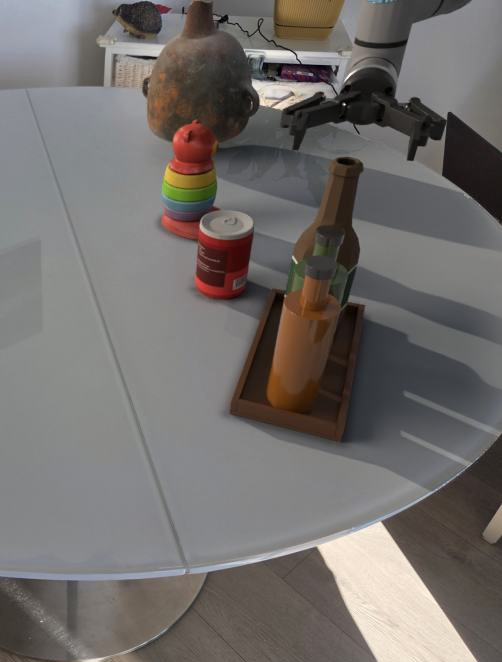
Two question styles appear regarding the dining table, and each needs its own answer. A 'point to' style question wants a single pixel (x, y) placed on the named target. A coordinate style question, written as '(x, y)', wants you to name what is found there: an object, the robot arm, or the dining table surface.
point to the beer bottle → (335, 222)
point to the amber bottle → (304, 339)
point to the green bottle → (327, 245)
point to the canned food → (223, 253)
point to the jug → (200, 80)
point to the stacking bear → (190, 180)
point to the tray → (335, 383)
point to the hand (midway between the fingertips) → (353, 145)
